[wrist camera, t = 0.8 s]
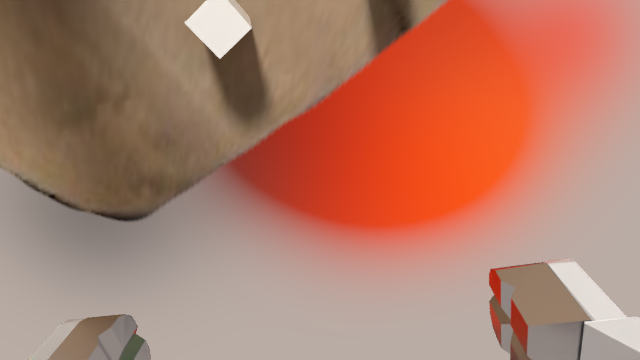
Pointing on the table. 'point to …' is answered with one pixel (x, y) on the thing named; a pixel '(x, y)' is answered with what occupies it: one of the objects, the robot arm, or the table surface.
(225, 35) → the tall grey block
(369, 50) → the table surface
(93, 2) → the table surface
